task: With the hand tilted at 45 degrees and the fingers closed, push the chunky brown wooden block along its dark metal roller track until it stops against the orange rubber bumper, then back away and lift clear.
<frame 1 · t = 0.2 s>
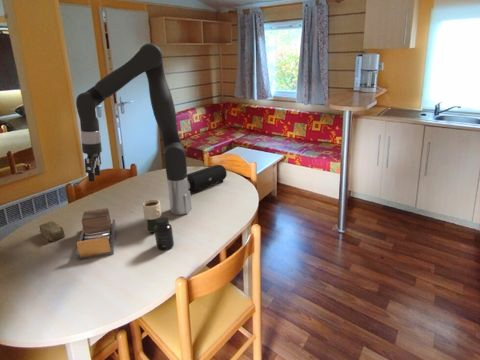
hand: (94, 178, 149), 22 cm above the table, tool pointing down, fingers open, 8 cm apart
portable speaker: (205, 186, 193), on the table
roller track: (98, 241, 142), on the table
brown wooden block: (96, 220, 145), point 7 cm above the table, slide at 0.0 cm
supplement bottle: (165, 246, 137), on the table
stone block: (53, 236, 147), on the table
character mug: (155, 230, 150), on the table
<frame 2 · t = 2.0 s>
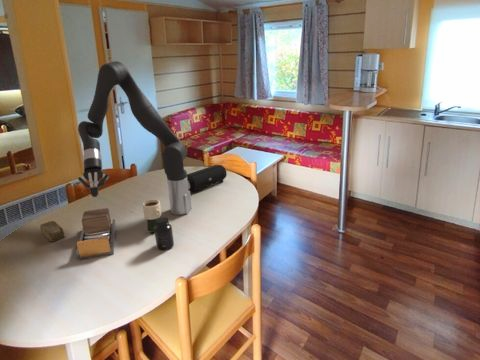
hand: (94, 196, 150), 14 cm above the table, tool tilted 45°, fingers closed
nothing on the table moved.
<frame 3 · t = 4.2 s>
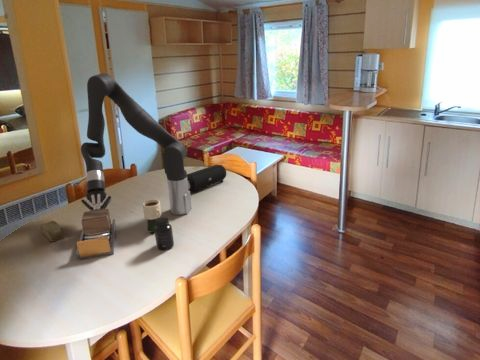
hand: (98, 218, 149), 5 cm above the table, tool tilted 45°, fingers closed
brown wooden block: (96, 220, 144), point 7 cm above the table, slide at 0.6 cm, touching gripper
everything else where it was.
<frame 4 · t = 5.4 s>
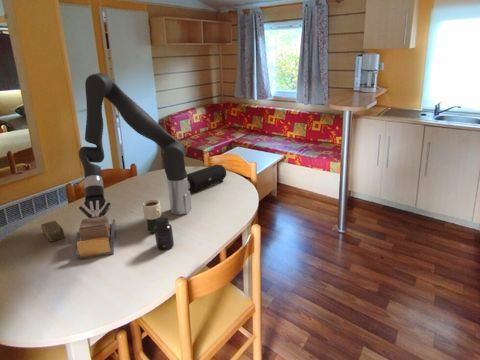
hand: (96, 226, 143), 5 cm above the table, tool tilted 45°, fingers closed
brown wooden block: (95, 229, 138), point 7 cm above the table, slide at 7.6 cm, touching gripper
everything else where it was.
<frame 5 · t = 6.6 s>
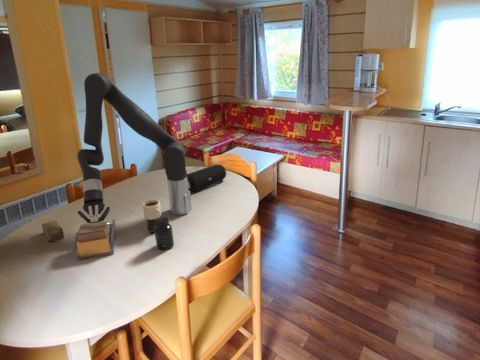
hand: (95, 231, 139), 5 cm above the table, tool tilted 45°, fingers closed
brown wooden block: (94, 234, 134), point 7 cm above the table, slide at 12.1 cm, touching gripper
everything else where it was.
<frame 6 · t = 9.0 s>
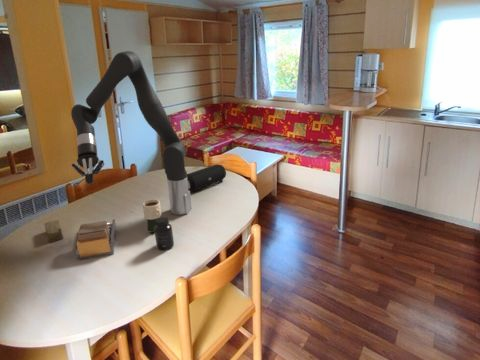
hand: (89, 183, 140), 23 cm above the table, tool tilted 45°, fingers closed
brown wooden block: (94, 234, 134), point 7 cm above the table, slide at 12.0 cm
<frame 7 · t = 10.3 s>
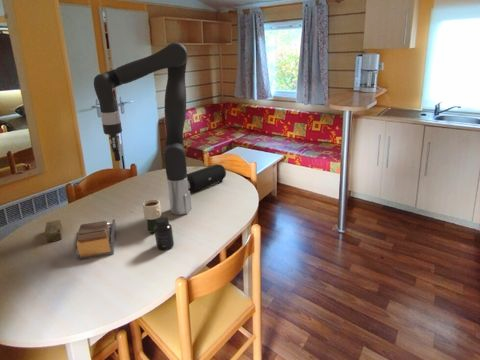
hand: (117, 160, 154), 27 cm above the table, tool pointing down, fingers closed
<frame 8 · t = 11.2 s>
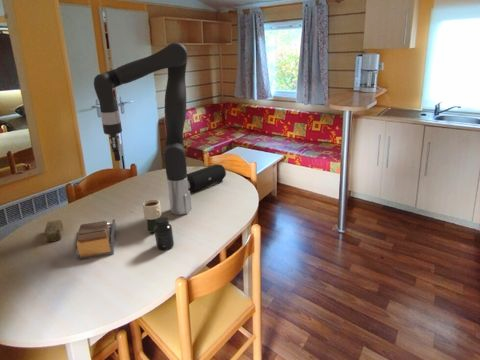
hand: (117, 160, 154), 27 cm above the table, tool pointing down, fingers closed
at the end: brown wooden block slide at 12.0 cm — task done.
